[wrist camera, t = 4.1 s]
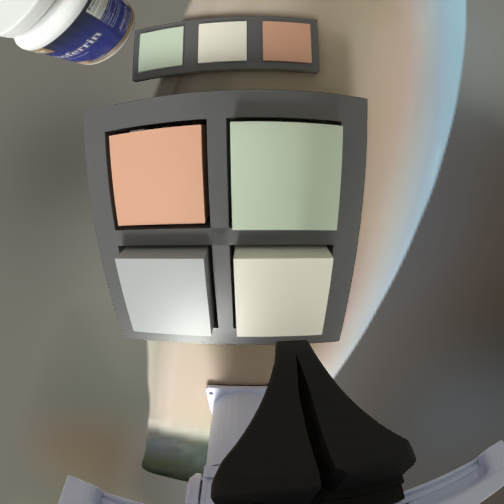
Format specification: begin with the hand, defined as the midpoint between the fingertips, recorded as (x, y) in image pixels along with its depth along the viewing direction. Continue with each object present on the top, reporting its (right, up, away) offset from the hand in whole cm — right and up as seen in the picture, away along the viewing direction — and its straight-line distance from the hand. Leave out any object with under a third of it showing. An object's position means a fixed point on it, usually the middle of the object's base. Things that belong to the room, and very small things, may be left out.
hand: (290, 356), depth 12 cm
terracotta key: (-7, +10, +5) cm, 13 cm away
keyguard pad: (-4, +7, +7) cm, 11 cm away
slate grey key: (-7, +3, +7) cm, 10 cm away
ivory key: (0, +3, +7) cm, 8 cm away
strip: (-4, +18, +2) cm, 18 cm away
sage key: (0, +9, +4) cm, 10 cm away
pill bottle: (-13, +21, +1) cm, 24 cm away
